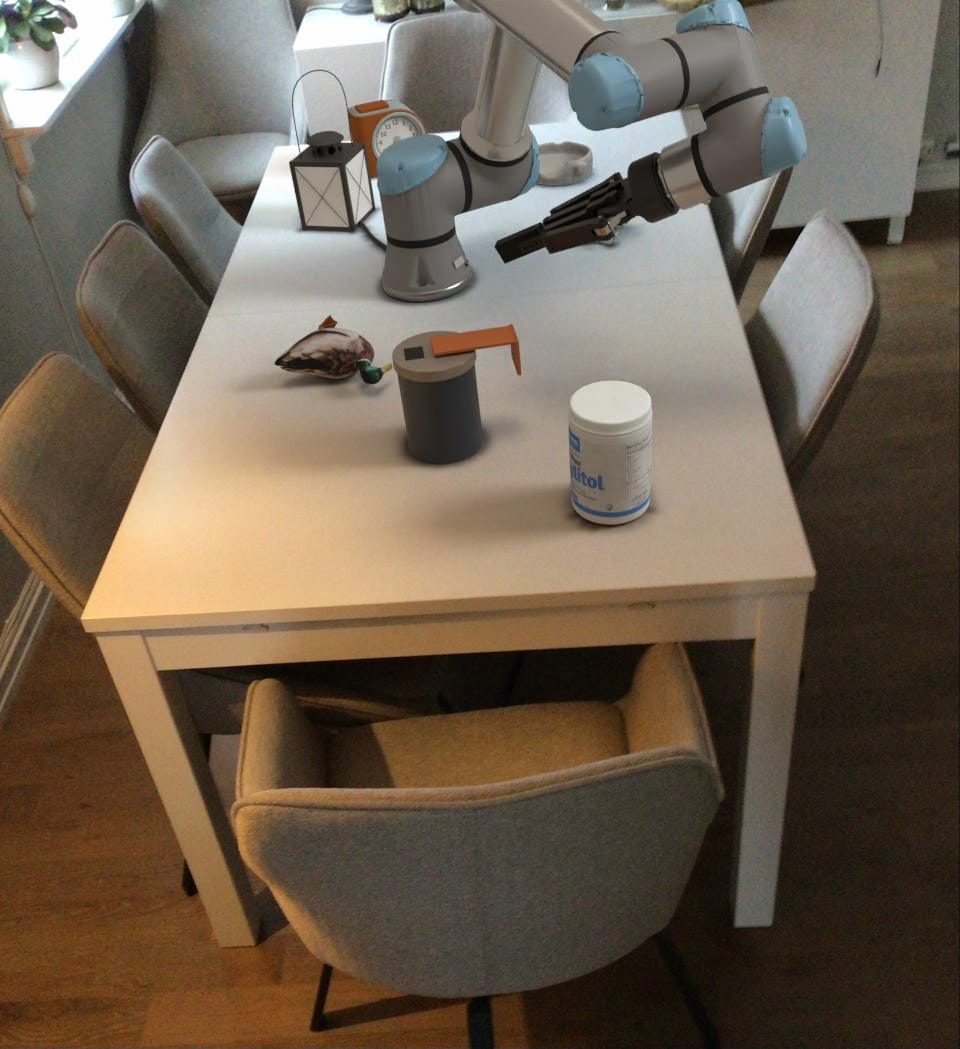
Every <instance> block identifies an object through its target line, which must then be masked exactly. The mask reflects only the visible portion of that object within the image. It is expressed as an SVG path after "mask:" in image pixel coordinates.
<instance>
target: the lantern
mask: <svg viewBox="0 0 960 1049" xmlns="http://www.w3.org/2000/svg"><path fill="white" fill-rule="evenodd" d="M313 72H326V73H329V74H330V75H332V76H333V77H334V78H335V79H336V80H337V82H338V83H339V85H340V87H341V89H342V92H343V96H344V101H345V105H346V112H347V120H348V130H349V137H350V138H349V139H350V142H343V141H344V139H345V136H344V135H343V134H342V133H340V132H338V131H335V130H324V131H319V132H316V133H313V134H311V136H309V137H308V138H307V140H306V145H308V146H307V147H306V148H305V149H304V150H302V151H301V148H300V143H299V142H300V141H299V137H298V136H299V135H298V132H297V124H296V118H295V113H294V111H295V110H294V94H295V90H296V87H297V85H298V83H299V82H300V80H301V79H302V78H303V77H305V76H306V75H308V74H311V73H313ZM348 109H349V106H348V100H347V97H346V92H345V90H344V87H343V85H342V83H341V81H340V79H339V78H338V77H337V76H336V75H335V74H334V73H333V72H331V71H329V70H325V69H314V70H313V69H312V70H310V71H307V72H305V73H304V74H302V75H301V76H300V77H299V78H298V79H297V80H296V82H295V84H294V86H293V90H292V95H291V110H292V118H293V124H294V130H295V137H296V142H297V146H298V155H297V156H295V157H294V158H293V159H291V160H289V161H288V166H289V170H290V175H291V180H292V184H293V185H292V186H293V189H294V195H295V199H296V205H297V208H298V214H299V219H300V226H301V229H302V231H322V232H323V231H325V232H328V231H329V232H350V233H355V232H356V231H357V229H358V228H359V227H361V226H360V224H359V221H360V220H361V221H362V222H363V223H364V222H365V221H366V219H368V218H369V217H370V216H371V214H372V213H373V212H375V211H376V210H377V209H376V203H375V197H374V196H375V195H374V190H373V184H372V183H373V182H372V178H371V176H370V170H369V164H368V157H367V151H366V144H365V143H364V142H361V143H353V142H352V136H351V130H350V121H349V113H348Z"/></svg>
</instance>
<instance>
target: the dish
mask: <svg viewBox="0 0 960 1049" xmlns="http://www.w3.org/2000/svg"><path fill="white" fill-rule="evenodd" d="M538 147H539V154H538V159H539V160H540V170H539V174H538V178H537V180H536V182H535V184H538V185H545V186H564V185H565V186H566V185H573V184H577V183H579V182H582V181H584V180H586V179H587V178H589V176H591V175H592V174H591V173H592V171H593V166H594V165H593V164H594V157H593V151H592V149H591V147H590V146H588V145H586V144H583V143H579V142H573V141H568V140H566V141H565V140H564V141H563V142H561V143H556V142H554V141H549V142H545V143H541V144H538Z"/></svg>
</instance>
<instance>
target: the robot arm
mask: <svg viewBox="0 0 960 1049" xmlns="http://www.w3.org/2000/svg"><path fill="white" fill-rule="evenodd" d="M452 1H453V2H454V3H455V4H457V5H458V6H459V7H460V8H461V9H463V10H465V11H466V12H469V13H473V14H482V15H484V16H485V17H486V18H487V19H488V20H490V25H489V30H488V34H487V39H486V46H485V51H484V56H483V61H482V65H481V66H482V67H481V72H480V76H479V82H478V88H477V93H476V98H475V102H474V108H473V110H471V111H469V112H468V113H467V114H466V115H465V116H464V118H463V119H462V121H461V126H460V130H459V134H458V135H459V136H458V137H455V138H452V139H448V140H445V138H443V137H442V136H440V135H438V134H432V133H429V134H428V133H427V134H425V135H422V136H419V137H418V136H412V137H408V138H405V139H402V140H400V141H398V142H396V143H394V144H392V145H390V146H389V147H387V148H386V149H385V150H384V151H383V152H382V153H381V155H380V156H379V158H378V160H377V165H376V167H377V177H376V178H377V179H376V180H377V181H376V186H377V190H378V194H379V200H380V204H381V211H382V212H381V213H382V218H383V225H384V229H385V237H386V244H385V243H384V242H382V241H381V240H380V239H378V238H377V237H375V236H374V235H373V233H372V232H371V231H370V230H369V228H368V227H367V226H366V224H365V223H364V222H362V221H361V220H360V221H359V224H360V226H359V227H361V229H363V231H364V233H366V235H367V237H369V238H370V239H371V240H372V242H374V243H375V244H376V245H378V246H380V247H381V248H383V250H385V256H384V257H385V258H384V264H383V270H382V272H381V273H382V274H381V281H382V287H383V291H384V292H385V293H386V294H387V295H388V296H389V297H391V298H393V299H396V300H400V301H405V302H429V301H436V300H441V299H445V298H448V297H451V296H454V295H456V294H458V293H460V292H461V291H463V290H465V289H466V288H467V287H468V286H469V285H470V283H471V281H472V279H473V276H472V275H473V274H472V267H471V263H470V261H469V259H468V257H467V255H466V253H465V250H464V248H463V246H462V244H461V242H460V240H459V237H458V235H457V230H456V229H457V228H456V219H455V217H456V216H459V215H462V214H465V213H469V212H472V211H475V210H480V209H483V208H487V207H490V206H494V205H497V204H502V203H504V202H509V201H513V200H515V199H516V198H518V197H520V196H523V195H526V194H527V193H529V192H530V191H531V190H532V188H534V186H535V184H536V183H535V182H536V180H537V178H538V174H539V170H540V160H539V159H538V154H539V147H538V145H539V143H538V141H537V138H536V136H535V134H534V133H533V131H532V130H531V128H530V126H529V124H528V120H529V116H530V112H531V108H532V104H533V101H534V96H535V92H536V89H537V84H538V80H539V76H540V73H541V68H542V65H544V66H546V67H547V68H548V69H549V70H551V72H553V73H554V74H555V75H556V76H558V77H559V78H560V79H562V81H564V82H565V83H566V84H568V85H567V92H568V100H569V104H570V107H571V111H572V112H574V113H575V114H576V119H577V121H578V122H579V123H580V125H581V126H582V127H584V128H585V129H587V130H589V131H593V132H600V131H605V130H611V129H622V128H625V127H627V126H630V125H632V124H635V123H638V122H641V121H644V120H648V119H652V118H655V117H658V116H661V115H664V114H667V113H671V112H674V111H677V110H682V109H685V108H688V107H692V106H695V105H696V106H697V105H698V108H699V111H700V114H701V116H702V119H703V121H704V123H705V126H706V129H704V130H703V131H700V132H697V133H695V134H692V135H689V136H687V137H684V138H683V139H680V140H678V141H675V142H673V143H671V144H668V145H666V146H664V147H662V148H661V151H660V152H657V151H654V152H652V153H649V154H646V155H645V156H642V157H640V158H638V159H636V160H633V161H632V162H630V163H629V165H628V168H627V171H626V172H627V173H626V177H625V178H623V176H622V174H621V172H620V171H617V172H614V173H613V174H612V175H610V176H609V177H607V178H606V179H605V180H603V181H602V182H600V183H597V184H596V185H594V186H592V187H591V188H588V189H587V190H585V191H583V192H581V193H579V194H577V195H575V196H574V197H572V198H570V199H568V200H566V201H564V202H562V203H561V204H559V205H557V206H555V207H553V208H551V209H550V210H549V214H550V215H548V216H545V217H544V218H543V219H542V222H541V221H539V222H537V223H535V224H532V225H530V226H528V227H525V228H523V229H521V230H519V231H516V232H513V233H511V234H509V235H507V236H503V237H502V238H499V239H498V240H496V242H495V244H494V248H495V251H496V252H497V254H498V256H499V257H500V259H501V260H502V262H503V264H508V263H510V262H513V261H516V260H518V259H520V258H522V257H525V256H528V255H530V254H532V253H535V252H538V251H540V250H542V249H546V251H547V252H548V254H549V255H552V254H556V253H559V252H563V251H567V250H571V249H574V248H577V247H582V246H584V245H589V244H591V243H595V242H607V241H611V240H613V238H614V234H613V232H612V229H613V228H614V227H615V226H616V225H617V226H620V225H623V226H624V225H626V224H625V223H627V222H628V223H629V222H630V221H631V220H634V219H635V218H636V217H640V218H643V219H644V220H645V222H647V223H648V224H649V223H650V224H655V223H658V222H661V221H663V220H666V219H668V218H670V217H673V216H675V215H677V214H678V213H679V211H680V210H682V211H686V210H689V209H692V208H694V207H697V206H700V205H702V204H703V205H705V206H707V205H709V204H710V203H711V201H712V200H714V199H717V198H720V197H721V196H725V195H727V194H730V193H732V192H736V191H738V190H740V189H742V188H745V187H748V186H750V185H753V184H756V183H759V182H761V181H763V180H764V181H765V180H767V179H770V178H772V177H773V176H774V175H777V174H779V173H781V172H784V171H785V170H788V169H790V168H792V167H794V166H796V165H799V163H801V162H802V161H803V160H804V159H805V157H806V154H807V147H808V146H807V144H808V143H807V137H806V133H805V129H804V126H803V121H802V120H801V118H800V116H799V111H798V109H797V107H796V105H795V103H794V101H793V100H792V99H791V98H790V97H789V96H786V95H785V96H784V95H783V96H780V97H772V94H771V93H770V91H769V87H767V84H766V83H767V82H766V79H765V76H764V72H763V68H762V65H761V62H760V58H759V54H758V51H757V46H756V43H755V38H754V36H755V35H754V32H753V30H752V28H751V25H750V23H749V20H748V17H747V15H746V13H745V11H744V8H743V6H742V4H741V3H740V2H739V1H738V0H712V1H710V2H708V3H706V4H702V5H700V6H698V7H696V8H694V9H692V10H691V11H688V12H686V14H684V15H683V16H682V17H681V18H680V19H679V20H677V23H676V26H675V32H676V34H673V35H670V36H667V37H663V38H658V39H654V40H650V41H647V42H642V43H636V42H635V41H634V42H633V41H632V39H630V38H628V37H627V36H625V35H623V33H621V32H620V31H618V30H617V29H616V28H615V27H613V26H612V25H610V24H609V23H608V22H606V21H605V20H604V19H602V18H601V17H600V16H598V15H597V14H595V13H594V12H593V11H591V10H590V9H589V8H588V7H586V6H585V5H584V4H582V3H581V2H580V1H578V0H452ZM628 223H627V224H628Z"/></svg>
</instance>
